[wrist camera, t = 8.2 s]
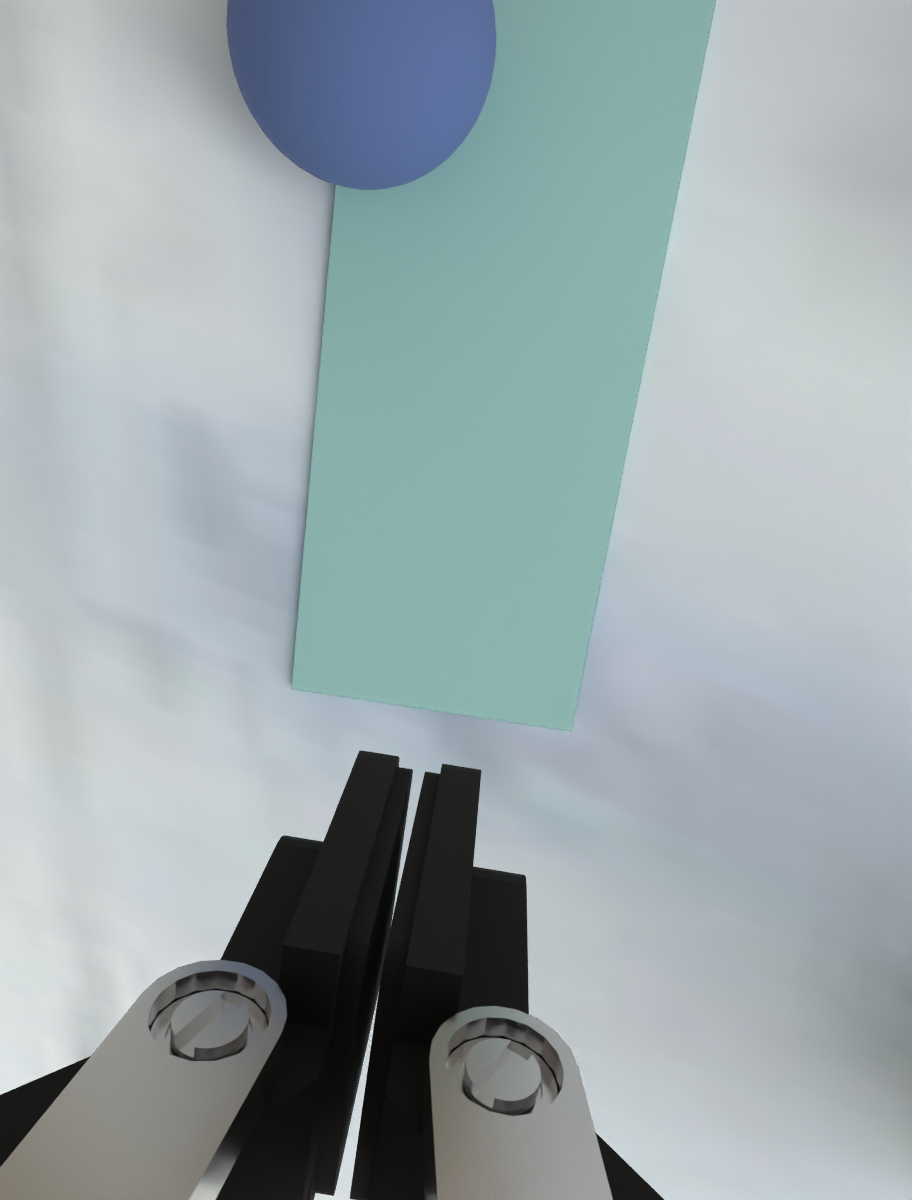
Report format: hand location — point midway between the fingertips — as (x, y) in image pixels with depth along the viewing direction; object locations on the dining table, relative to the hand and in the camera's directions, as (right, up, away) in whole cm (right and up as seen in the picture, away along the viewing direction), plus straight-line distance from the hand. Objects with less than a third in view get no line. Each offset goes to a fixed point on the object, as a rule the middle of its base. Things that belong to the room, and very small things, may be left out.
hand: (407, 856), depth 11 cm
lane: (+2, +14, +11) cm, 18 cm away
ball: (-1, +16, +8) cm, 18 cm away
